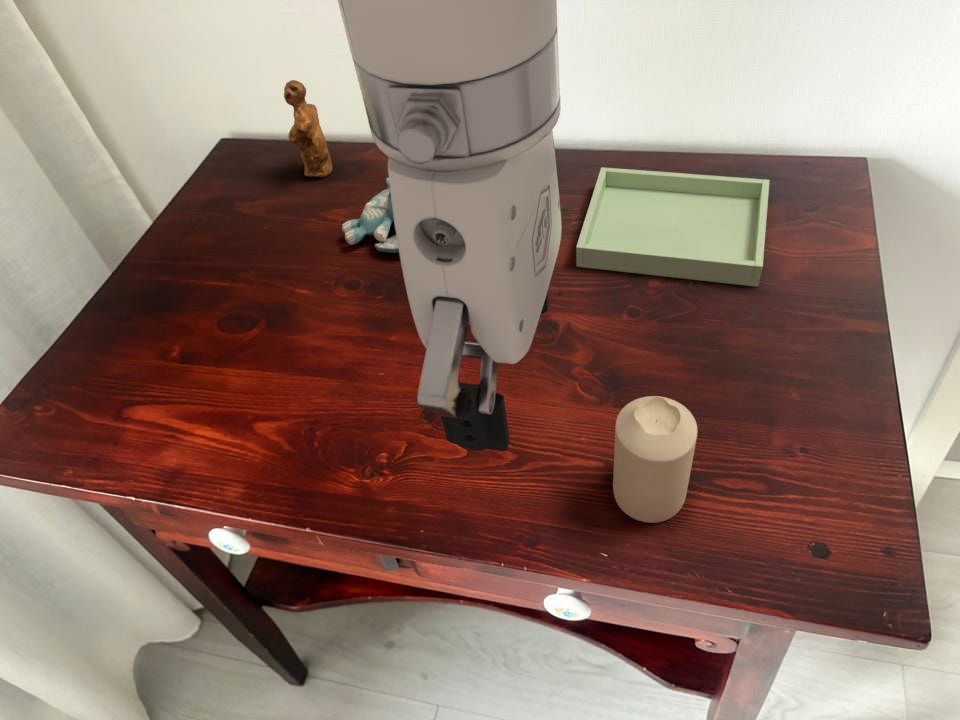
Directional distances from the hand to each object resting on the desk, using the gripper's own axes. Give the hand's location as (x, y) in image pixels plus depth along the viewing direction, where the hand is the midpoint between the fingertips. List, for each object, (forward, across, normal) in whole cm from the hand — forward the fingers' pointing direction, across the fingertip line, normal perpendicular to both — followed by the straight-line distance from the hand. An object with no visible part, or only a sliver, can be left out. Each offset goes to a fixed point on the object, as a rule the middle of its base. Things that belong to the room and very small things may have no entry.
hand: (501, 370), depth 41 cm
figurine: (+20, +43, +36) cm, 60 cm away
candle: (+20, +6, -8) cm, 23 cm away
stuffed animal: (+20, +34, +22) cm, 45 cm away
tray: (+20, +37, -7) cm, 43 cm away
